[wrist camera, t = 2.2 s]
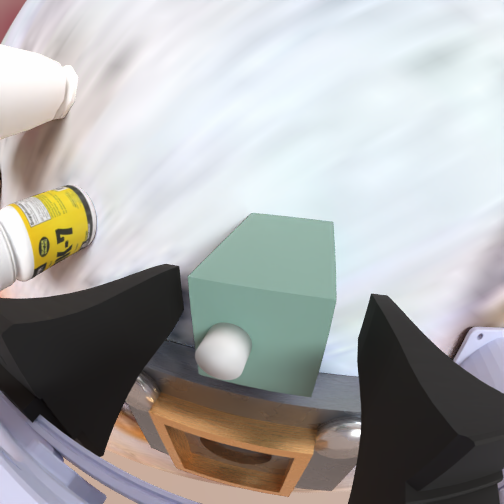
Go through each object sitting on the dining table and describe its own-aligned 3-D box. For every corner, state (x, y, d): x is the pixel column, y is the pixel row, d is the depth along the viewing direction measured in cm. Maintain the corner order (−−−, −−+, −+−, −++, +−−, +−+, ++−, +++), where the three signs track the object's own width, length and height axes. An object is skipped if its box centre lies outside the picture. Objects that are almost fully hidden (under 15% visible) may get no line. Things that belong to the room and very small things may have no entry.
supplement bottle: (88, 258, 18) (4, 313, 11) (55, 219, 18) (-28, 259, 10) (107, 210, 16) (1, 262, 9) (69, 170, 16) (-30, 202, 8)
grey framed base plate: (391, 379, 15) (397, 439, 11) (334, 468, 22) (329, 506, 17) (126, 327, 20) (88, 366, 15) (162, 429, 26) (143, 460, 22)
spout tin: (333, 222, 13) (336, 323, 6) (322, 293, 14) (307, 420, 7) (252, 212, 14) (170, 294, 7) (250, 283, 15) (187, 393, 8)
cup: (97, 112, 14) (-14, 122, 6) (29, 165, 17) (-47, 189, 10) (86, 31, 11) (-6, 17, 4) (20, 97, 15) (-51, 107, 7)
